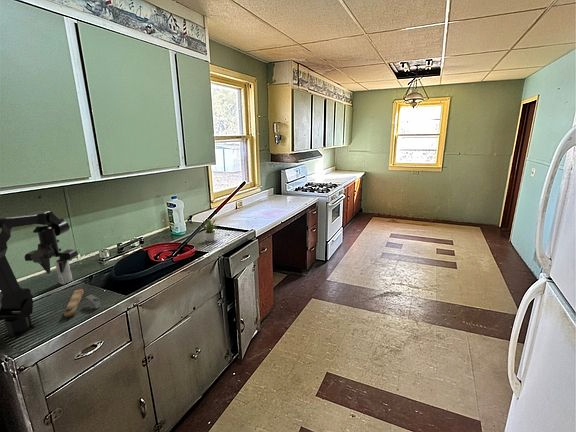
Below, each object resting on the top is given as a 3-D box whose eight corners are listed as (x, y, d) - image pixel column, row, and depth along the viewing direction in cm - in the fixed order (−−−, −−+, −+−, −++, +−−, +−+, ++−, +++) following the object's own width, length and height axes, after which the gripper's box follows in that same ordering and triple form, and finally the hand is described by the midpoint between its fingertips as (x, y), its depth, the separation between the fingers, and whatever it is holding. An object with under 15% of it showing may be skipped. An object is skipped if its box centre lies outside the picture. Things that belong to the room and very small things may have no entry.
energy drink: (70, 278, 155) (66, 257, 152) (74, 281, 151) (69, 259, 148) (58, 282, 151) (53, 260, 148) (61, 285, 148) (56, 263, 144)
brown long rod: (74, 315, 122) (73, 309, 121) (62, 318, 120) (61, 311, 120) (84, 292, 140) (83, 287, 139) (74, 294, 138) (73, 289, 137)
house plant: (212, 234, 221) (210, 213, 217) (225, 238, 213) (224, 216, 209) (196, 240, 210) (194, 218, 205) (210, 244, 202) (208, 221, 198)
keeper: (95, 309, 127) (93, 301, 126) (87, 304, 131) (85, 297, 130) (101, 306, 129) (99, 298, 128) (92, 302, 133) (91, 294, 132)
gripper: (9, 247, 120) (18, 282, 124) (57, 246, 121) (65, 281, 125) (31, 237, 130) (38, 270, 134) (75, 236, 131) (81, 269, 135)
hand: (55, 273), depth 132 cm, fingers open, 5 cm apart
